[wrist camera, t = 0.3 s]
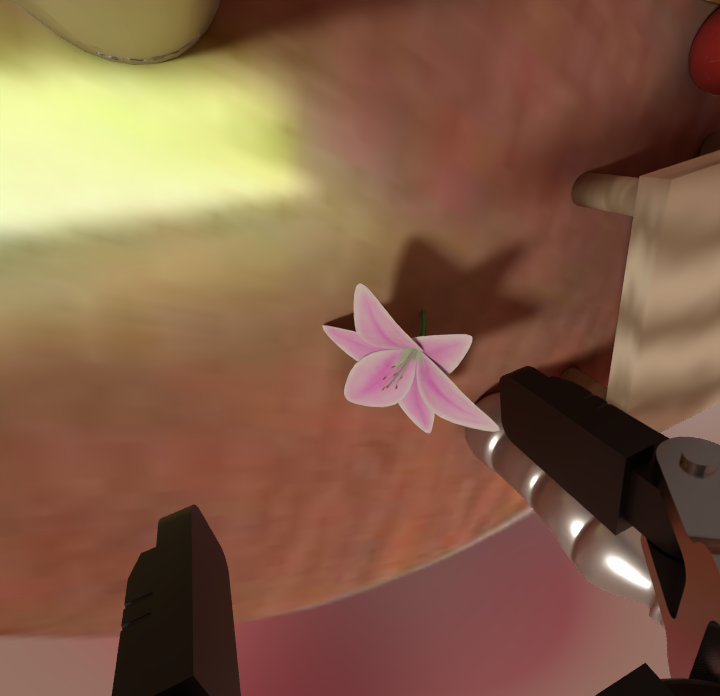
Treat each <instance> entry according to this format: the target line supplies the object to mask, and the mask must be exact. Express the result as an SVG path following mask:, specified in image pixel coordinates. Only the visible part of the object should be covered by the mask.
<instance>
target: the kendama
mask: <svg viewBox="0 0 720 696" xmlns="http://www.w3.org/2000/svg"><path fill="white" fill-rule="evenodd" d="M706 1H709V2H711V3H714V4H720V0H706ZM689 72H690V76H691V78H692V80H693V82H694V83H695V84H696V85H697V86H698V87H699V88H700V89H702V90H703V91H705V92H707V93H708V94H710V95H713V96H716V97H718V96H720V7H719V8H718V9H717V10H716V11H715V12H714V13H713V14H712V15H711V16H710V17H709V18H708V19H707V20H706V22H705V23H704V24H703V25H702V27H701V28H700V30H699V32H698V33H697V35H696V37H695V39H694V41H693V44H692V47H691V50H690V54H689Z"/></svg>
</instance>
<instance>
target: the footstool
mask: <svg viewBox="0 0 720 696" xmlns="http://www.w3.org/2000/svg"><path fill="white" fill-rule="evenodd" d="M572 200H573V202H574V204H576V205H578V206H583V207H588V208H593V209H598V210H603V211H608V212H613V213H618V214H623V215H628V216H633V223H632V229H631V236H630V243H629V249H628V256H627V263H626V269H625V276H624V283H623V289H622V296H621V303H620V309H619V316H618V323H617V329H616V336H615V343H614V349H613V356H612V363H611V369H610V376H609V383H608V387H606V386H604V385H603V384H601V383H599V382H598V381H596V380H594V379H593V378H591V377H589V376H588V375H586V374H585V373H583V372H581V371H580V370H578V369H576V368H574V367H571V368H568V369H566V370H565V371H564V372H563V373H562V374H561V376H560V377H559V378H562V379H565V380H569V381H572V382H575V383H577V384H578V385H580V386H582V387H583V388H585V389H587V390H588V391H590V392H592V393H593V395H594V396H595V395H597V396H599V397H600V398H602V399H604V400H605V401H607V403H608V404H612V405H614V406H615V407H617V408H619V409H620V410H622V411H624V412H625V413H627V414H629V415H630V416H632V417H634V418H635V419H637V420H639V421H640V422H642V423H644V424H646V425H647V426H649V427H651V428H652V429H654V430H656V431H657V432H659V433H660V432H662V431H664V430H666V429H668V428H670V427H672V426H674V425H676V424H678V423H680V422H682V421H684V420H686V419H688V418H690V417H692V416H694V415H696V414H698V413H700V412H702V411H704V410H706V409H708V408H710V407H712V406H714V405H716V404H718V403H720V132H714V133H712V134H710V135H709V136H708V137H707V138H706V140H705V141H704V143H703V144H702V147H701V149H700V154H699V157H697V158H694V159H691V160H688V161H684V162H681V163H678V164H675V165H672V166H669V167H666V168H663V169H660V170H657V171H654V172H651V173H648V174H645V175H642V176H639V178H636V177H627V176H619V175H610V174H601V173H592V172H586V173H584V174H582V175H581V176H580V177H579V178H578V179H577V180H576V182H575V183H574V186H573V188H572Z"/></svg>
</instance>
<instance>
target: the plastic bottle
mask: <svg viewBox="0 0 720 696" xmlns="http://www.w3.org/2000/svg"><path fill="white" fill-rule="evenodd" d="M476 406H477V407H478V408H479V409H480V410H482V411H483V412H484V413H485V414H486V415H487V416H488V417H489V418H491V419H492V420H493V421H494V422H495V423H496V424H497V425H498V426H499V429H500V431H496V432H492V431H484V430H479V429H474V428H469V427H466V426H465V438H466V441H467V443H468V445H469V447H470V448H471V450H472V452H473V453H474V455H475V456H476V457H477V458H478V459H479V460H480V461H481V462H483V463H484V464H485V465H486V466H487V467H489V468H490V469H492V470H493V471H495V472H496V473H498V474H499V475H500V476H501V477H502V478H503V479H504V480H505V481H506V482H507V483H508V484H509V485H511V486H512V487H513V488H514V489H515V490H516V491H517V492H518V493H519V494H520V495H521V496H522V497H523V498H524V499H525V500H526V501H527V502H528V504H529V505H530V506H531V507H532V508H533V509H534V511H535V512H536V513H537V515H538V516H539V517H540V518H541V519H542V520H543V522H544V523H545V524H546V525H547V526H548V528H549V529H550V531H551V532H552V534H553V535H554V537H555V538H556V540H557V541H558V543H559V544H560V545H561V547H562V548H563V550H564V551H565V552H566V554H567V556H568V557H569V558H570V560H571V561H572V562H573V564H574V565H575V567H576V568H577V569H578V570H579V572H580V573H581V574H582V576H583V577H584V578H585V579H586V580H587V581H589V582H590V583H592V584H593V585H595V586H596V587H598V588H599V589H601V590H604V591H606V592H609V593H612V594H614V595H617V596H619V597H622V598H626V599H629V600H633V601H636V602H640V603H643V604H645V605H646V606H647V607H648V608H650V611H649V616H650V617H651V618H652V619H653V620H654V621H655V622H656V623H657V624H660V625H661V626H662V627H663V628H664V629H665V626H664V622H663V619H662V615H661V612H660V608H659V605H658V601H657V598H656V594H655V591H654V588H653V584H652V581H651V577H650V574H649V570H648V567H647V563H646V560H645V557H644V553H643V550H642V546H641V541H640V539H641V533H640V532H639V531H638V530H636V529H635V528H634V527H633V526H632V527H630V528H629V529H627V530H625V531H623V532H621V533H620V534H618V535H616V536H615V535H614V534H613V533H612V532H611V531H610V530H609V529H608V528H606V527H605V526H604V525H603V524H602V523H601V522H600V521H599V520H598V519H596V518H595V517H594V516H593V515H592V514H591V513H590V512H589V511H587V510H586V509H585V508H584V507H583V506H582V505H581V504H580V503H579V502H577V501H576V500H575V499H574V498H573V497H572V496H571V495H570V494H569V493H567V492H566V491H565V490H564V489H563V488H562V487H561V486H560V485H559V484H557V483H556V482H555V481H554V480H553V479H552V478H551V477H550V476H548V475H547V474H546V473H545V472H544V471H543V470H542V469H541V468H540V467H538V466H537V465H536V464H535V463H534V462H533V461H532V460H531V459H530V458H528V457H527V456H526V455H525V454H524V453H523V452H522V451H521V450H520V449H518V448H517V447H516V446H515V445H514V444H513V443H512V442H511V441H510V440H509V438H508V437H507V435H506V433H505V431H504V429H503V426H502V422H501V406H500V392H498V393H493V394H490V395H488V396H486V397H484V398H483V399H481V400H480V401H479V402H478V403H477V404H476Z"/></svg>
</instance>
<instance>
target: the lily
mask: <svg viewBox="0 0 720 696" xmlns="http://www.w3.org/2000/svg"><path fill="white" fill-rule="evenodd" d="M354 322H355V329H356V331H357V332H355V331H351V330H346V329H341V328H337V327H332V326H326V325H323V329H324V331H325V332H326V334H327V335H328V336H329V337H330V338H331V339H332V340H333V341H334V342H335V343H336V344H337V345H338V346H339V347H340V348H341V349H342V350H343V351H344V352H346V353H347V354H348V355H349V356H351V357H352V358H353V359H355V360H356V361H358V362H357V363H356V364H355V365H354V367H353V368H352V370H351V371H350V374H349V376H348V378H347V381H346V384H345V389H344V395H345V397H346V399H347V400H348V401H350V402H353V403H355V404H359V405H364V406H373V407H387V406H391V405H394V404H396V403H398V404H399V405H400V407H401V408H402V409H403V411H404V412H405V413H406V414H407V415H408V417H409V418H410V419H411V420H412V421H413V422H414V423H415V424H416V425H417V426H418V427H419V428H420V429H422V430H423V431H424V432H426V433H430V432H431V430H432V427H433V422H434V414H437V415H438V416H440V417H441V418H443V419H445V420H448V421H450V422H453V423H456V424H459V425H463V426H466V427H469V428H474V429H479V430H484V431H492V432H496V431H500V429H499V426H498V425H497V424H496V423H495V422H494V421H493V420H492V419H491V418H489V417H488V416H487V415H486V414H485V413H484V412H483V411H482V410H480V409H479V408H478V407H477V406H476V405H475V404H474V403H473V402H471V401H470V400H469V399H468V398H467V397H466V396H465V395H464V394H463V393H462V392H461V391H460V390H459V389H458V388H457V387H456V386H455V384H454V383H453V382H452V381H451V380H450V379H449V378H448V377H447V376H446V375H448V374H450V373H451V372H452V371H453V370H454V369H455V368H456V367H457V366H458V365H459V363H460V362H461V361H462V359H463V358H464V356H465V355H466V353H467V351H468V350H469V348H470V346H471V343H472V336H470V335H467V334H450V335H433V336H424V335H425V329H426V311H425V310H423V311H422V329H421V334H420V337H412V338H410V337H409V336H408V335H407V334H406V333H405V332H404V331H403V330H402V329H401V328H400V326H399V325H398V324H397V323H396V322H395V321H394V320H393V318H392V317H391V316H390V315H389V313H388V312H387V311H386V310H385V309H384V307H383V306H382V305H381V303H380V302H379V301H378V300H377V298H376V297H375V296H374V295H373V294H372V293H371V291H370V290H369V289H368V288H367V287H366V286H364V285H363V284H361V283H359V284H358V285H357V286H356V290H355V294H354Z"/></svg>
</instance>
